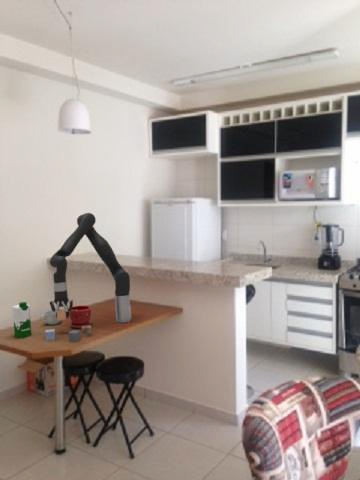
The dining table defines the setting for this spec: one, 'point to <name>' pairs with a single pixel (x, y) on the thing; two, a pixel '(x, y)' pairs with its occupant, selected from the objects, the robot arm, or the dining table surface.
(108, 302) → the dining table surface
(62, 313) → the terracotta cube
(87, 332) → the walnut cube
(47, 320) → the teacup
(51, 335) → the slate blue cube
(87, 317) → the plant pot
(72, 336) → the charcoal cube
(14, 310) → the milk carton
